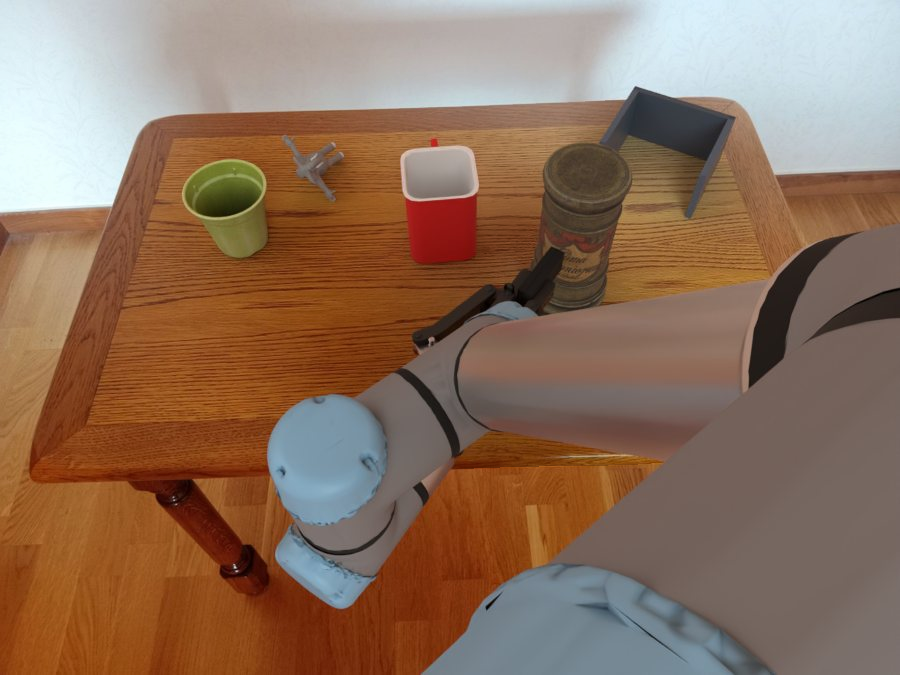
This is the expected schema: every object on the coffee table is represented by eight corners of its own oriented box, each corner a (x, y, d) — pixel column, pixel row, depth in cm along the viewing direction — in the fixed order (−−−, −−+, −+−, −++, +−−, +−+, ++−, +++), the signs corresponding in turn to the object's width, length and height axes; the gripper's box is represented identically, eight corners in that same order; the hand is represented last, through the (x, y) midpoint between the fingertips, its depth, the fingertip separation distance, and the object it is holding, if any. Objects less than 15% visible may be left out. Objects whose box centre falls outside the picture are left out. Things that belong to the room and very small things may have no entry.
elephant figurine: (373, 171, 93) (339, 196, 86) (345, 194, 96) (310, 220, 89) (325, 107, 91) (285, 128, 84) (298, 132, 94) (258, 154, 87)
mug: (479, 261, 84) (481, 196, 75) (409, 267, 83) (403, 202, 75) (468, 189, 90) (469, 122, 82) (404, 194, 90) (397, 127, 81)
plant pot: (288, 212, 89) (272, 159, 82) (275, 270, 84) (258, 219, 76) (214, 211, 89) (192, 158, 82) (197, 269, 84) (172, 218, 77)
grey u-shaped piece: (690, 218, 87) (706, 176, 81) (591, 183, 91) (599, 140, 85) (719, 160, 93) (736, 116, 87) (624, 129, 96) (635, 85, 90)
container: (527, 256, 84) (541, 135, 69) (604, 261, 83) (634, 141, 68) (523, 317, 79) (537, 201, 64) (605, 323, 78) (637, 208, 63)
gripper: (367, 416, 66) (499, 255, 77) (485, 490, 62) (607, 308, 73) (357, 375, 60) (503, 206, 71) (487, 454, 56) (621, 261, 67)
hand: (556, 258), depth 72 cm, fingers closed
